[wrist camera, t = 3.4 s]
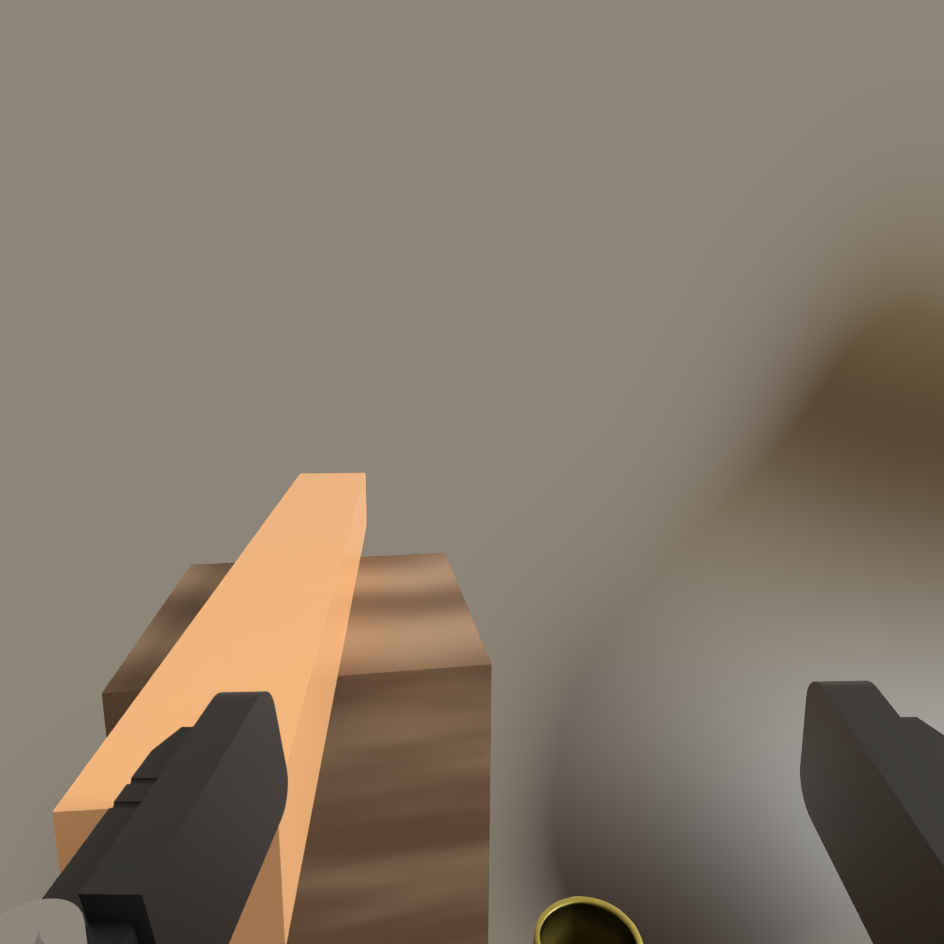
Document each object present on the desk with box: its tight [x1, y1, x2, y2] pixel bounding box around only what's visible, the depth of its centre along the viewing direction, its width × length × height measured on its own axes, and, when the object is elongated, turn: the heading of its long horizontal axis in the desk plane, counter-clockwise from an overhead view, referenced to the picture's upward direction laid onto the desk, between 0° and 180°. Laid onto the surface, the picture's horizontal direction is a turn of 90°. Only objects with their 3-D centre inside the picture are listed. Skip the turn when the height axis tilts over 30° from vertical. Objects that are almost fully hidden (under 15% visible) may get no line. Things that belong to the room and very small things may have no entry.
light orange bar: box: [52, 473, 367, 944], centre depth 25 cm, size 28×4×3 cm, turn 5°
